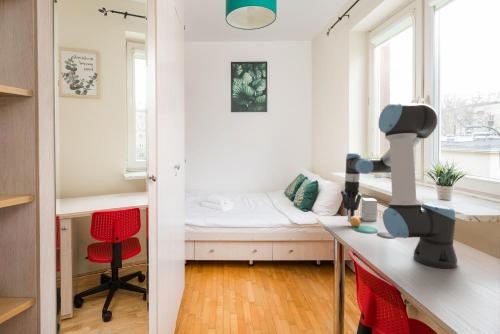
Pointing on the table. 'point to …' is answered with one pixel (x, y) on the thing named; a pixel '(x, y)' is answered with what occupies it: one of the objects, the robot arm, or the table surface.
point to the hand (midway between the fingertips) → (350, 221)
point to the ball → (355, 221)
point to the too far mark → (385, 235)
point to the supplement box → (369, 209)
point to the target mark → (365, 229)
